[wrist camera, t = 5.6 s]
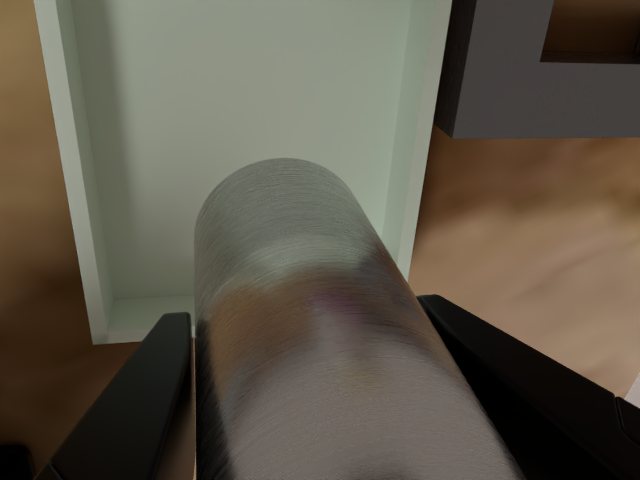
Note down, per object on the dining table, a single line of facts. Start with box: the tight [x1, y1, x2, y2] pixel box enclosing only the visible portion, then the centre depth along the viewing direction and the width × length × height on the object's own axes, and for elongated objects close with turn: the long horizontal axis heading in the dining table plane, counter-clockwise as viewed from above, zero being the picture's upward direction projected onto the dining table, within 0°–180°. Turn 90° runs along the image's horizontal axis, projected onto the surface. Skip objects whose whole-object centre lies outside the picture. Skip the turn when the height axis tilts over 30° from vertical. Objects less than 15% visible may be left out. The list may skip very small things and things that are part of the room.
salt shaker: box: [194, 158, 527, 480], centre depth 8 cm, size 5×5×10 cm
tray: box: [34, 0, 452, 345], centre depth 18 cm, size 14×11×2 cm
